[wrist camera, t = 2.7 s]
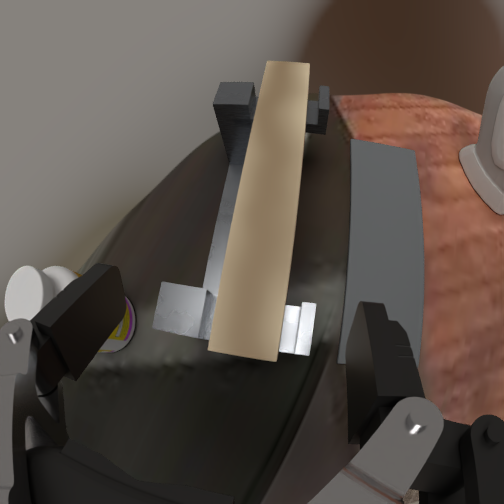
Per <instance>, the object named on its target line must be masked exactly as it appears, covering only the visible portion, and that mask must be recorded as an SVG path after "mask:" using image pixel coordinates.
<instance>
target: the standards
mask: <svg viewBox="0 0 504 504" xmlns="http://www.w3.org/2000/svg"><path fill="white" fill-rule="evenodd" d="M258 98H259V97H256V95H255V87H254V83H253V82H221V83H220V85H219V88H218V91H217V94H216V96H215V99H214V102H213V107H214V110H215V114H216V118H217V121H218V125H219V128H220V132H221V135H222V139H223V142H224V146H225V149H226V153H227V156H228V160H229V164H230V165H229V169H228V174H227V178H226V182H225V186H224V191H223V195H222V199H221V204H220V208H219V213H218V217H217V222H216V226H215V231H214V235H213V240H212V245H211V249H210V254H209V259H208V264H207V269H206V274H205V279H204V284H203V288H197V287H191V286H185V285H179V284H173V283H167V282H162V283H161V288H160V292H159V297H158V302H157V306H156V311H155V316H154V321H153V327H152V328H154V329H158V330H162V331H167V332H171V333H176V334H180V335H185V336H190V337H195V338H200V339H206V340H210V334H211V329H212V323H213V317H214V312H215V306H216V301H217V296H218V290H219V285H220V280H221V274H222V269H223V264H224V259H225V254H226V248H227V243H228V238H229V233H230V228H231V223H232V218H233V213H234V208H235V204H236V199H237V194H238V189H239V184H240V180H241V175H242V170H243V166H244V161H245V156H246V152H247V147H248V142H249V138H250V133H251V129H252V124H253V120H254V116H255V111H256V107H257V102H258ZM328 114H329V87H328V86H320V90H319V100H318V101H309V100H308V105H307V118H306V130H305V132H307V133H316V134H324V135H325V134H326V127H327V121H328ZM315 310H316V304H315V303H306V302H302V304H301V307H297V306H289V305H286V306H285V313H284V320H283V327H282V333H281V340H280V346H279V352H286V353H294V354H300V355H308V356H309V353H310V347H311V340H312V333H313V325H314V318H315Z"/></svg>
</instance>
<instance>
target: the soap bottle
mask: <svg viewBox="0 0 504 504" xmlns="http://www.w3.org/2000/svg"><path fill="white" fill-rule="evenodd" d="M459 160H460V162H461V164H462V167H463V169H464V172H465V174H466V176H467V177H468V179H469V181H470V183H471V185H472V186H473V188H474V189H475V190H476V192H477V193H478V194H479V195H480V197H481V198H482V199H483V201H484V202H485V203H486V204H487V205H488V206H489V207H490V208H491V209H492V210H493V211H494V212H496V213H498V214H500V215H502V214H504V66H503V67H502V68H500V70H499V71H498V72H497V73H496V75H495V76H494V78H493V79H492V81H491V83H490V85H489V88H488V92H487V95H486V100H485V106H484V111H483V115H482V121H481V126H480V132H479V137H478V142H477V144H471V145H469V146H466V147H464V148H462V149H461V151H460V152H459Z"/></svg>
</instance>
